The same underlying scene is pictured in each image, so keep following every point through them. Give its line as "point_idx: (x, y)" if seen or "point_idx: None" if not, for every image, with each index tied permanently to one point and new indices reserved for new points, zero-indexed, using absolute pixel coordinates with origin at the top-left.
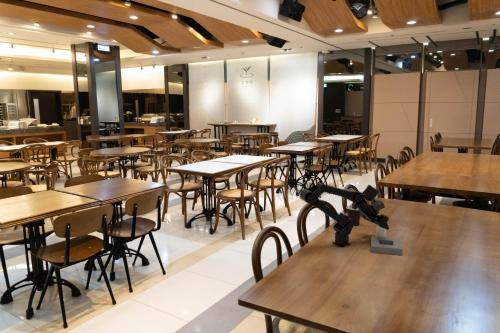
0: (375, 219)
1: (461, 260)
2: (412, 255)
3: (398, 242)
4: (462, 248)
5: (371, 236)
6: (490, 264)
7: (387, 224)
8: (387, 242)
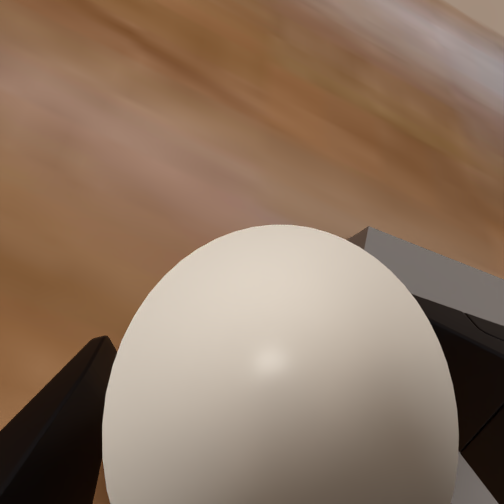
0: (53, 442)
1: (491, 94)
2: (491, 250)
3: (443, 274)
4: (371, 24)
5: None
6: (500, 43)
7: (467, 318)
8: None
